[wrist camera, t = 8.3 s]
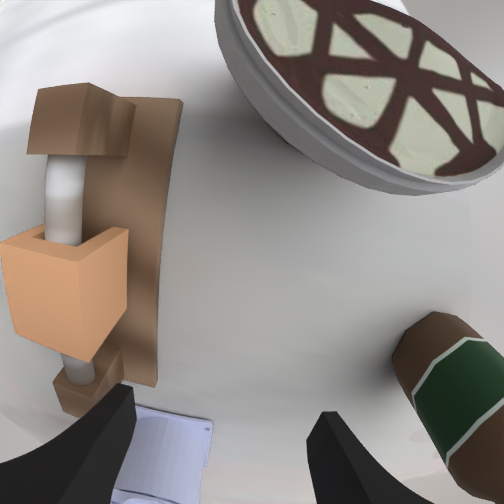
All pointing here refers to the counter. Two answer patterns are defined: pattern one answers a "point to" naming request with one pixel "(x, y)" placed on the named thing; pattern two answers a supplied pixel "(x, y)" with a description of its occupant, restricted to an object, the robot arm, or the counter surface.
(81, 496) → the robot arm
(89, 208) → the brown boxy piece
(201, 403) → the counter surface
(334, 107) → the food container
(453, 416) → the beer bottle
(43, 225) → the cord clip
